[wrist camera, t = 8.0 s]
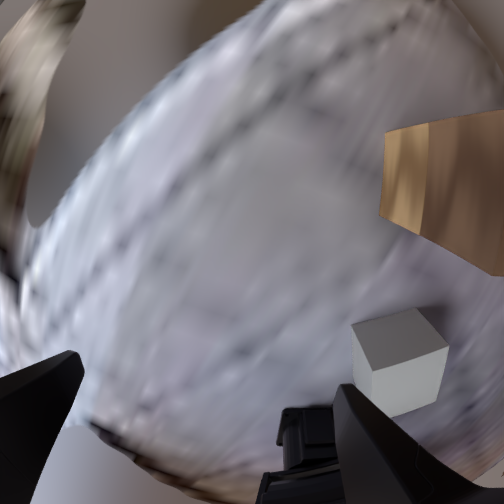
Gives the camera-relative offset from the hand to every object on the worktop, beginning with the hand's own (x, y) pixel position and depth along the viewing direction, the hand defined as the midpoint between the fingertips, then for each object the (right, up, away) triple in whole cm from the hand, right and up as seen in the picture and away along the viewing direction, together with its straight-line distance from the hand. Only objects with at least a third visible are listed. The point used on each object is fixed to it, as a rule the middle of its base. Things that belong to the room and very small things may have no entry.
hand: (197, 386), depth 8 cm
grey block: (+13, -4, +14) cm, 19 cm away
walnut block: (+14, +8, +4) cm, 16 cm away
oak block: (+14, +10, +9) cm, 19 cm away
